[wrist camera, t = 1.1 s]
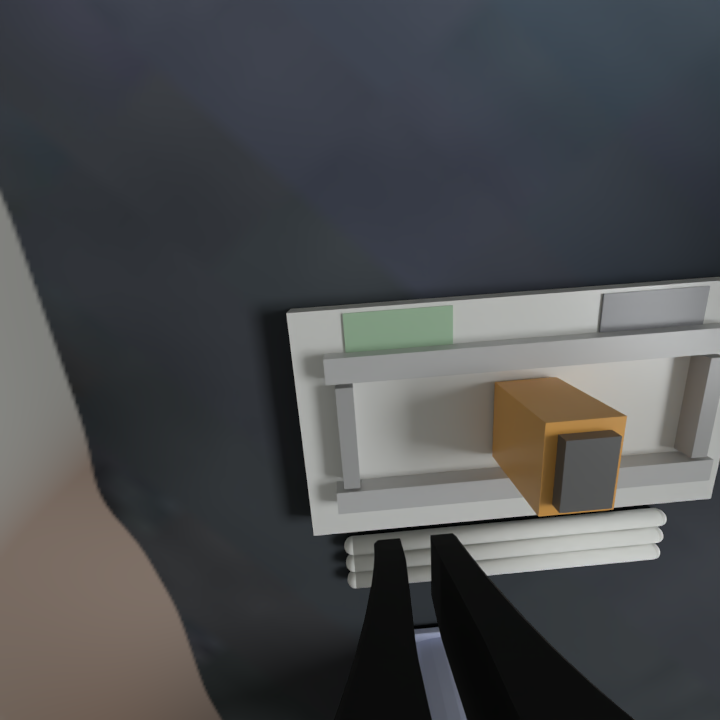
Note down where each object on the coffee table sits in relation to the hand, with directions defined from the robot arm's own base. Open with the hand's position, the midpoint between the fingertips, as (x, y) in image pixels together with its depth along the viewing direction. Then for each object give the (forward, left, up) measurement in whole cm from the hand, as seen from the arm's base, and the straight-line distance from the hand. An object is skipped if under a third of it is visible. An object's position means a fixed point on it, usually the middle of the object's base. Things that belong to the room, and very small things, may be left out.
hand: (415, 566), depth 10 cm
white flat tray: (0, -7, -10) cm, 12 cm away
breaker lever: (0, -7, -8) cm, 11 cm away
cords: (-9, -7, -10) cm, 15 cm away
